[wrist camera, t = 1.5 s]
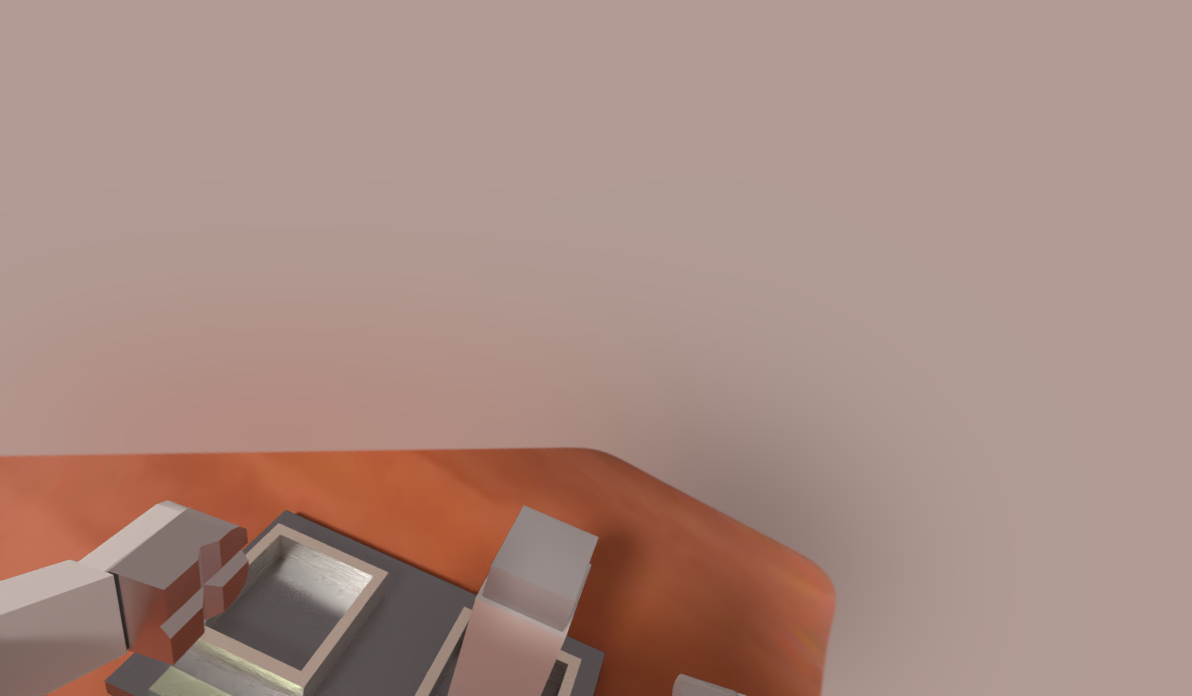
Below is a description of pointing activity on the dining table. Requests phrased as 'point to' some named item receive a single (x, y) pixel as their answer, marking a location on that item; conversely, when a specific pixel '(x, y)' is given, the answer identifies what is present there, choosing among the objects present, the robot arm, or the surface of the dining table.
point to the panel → (332, 629)
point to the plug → (524, 608)
